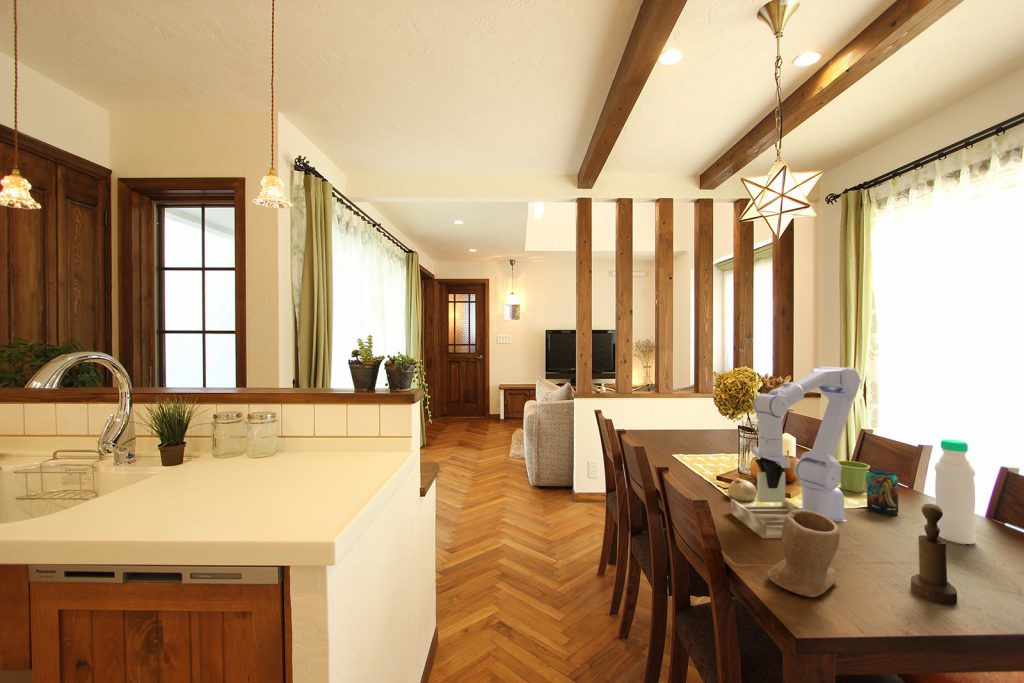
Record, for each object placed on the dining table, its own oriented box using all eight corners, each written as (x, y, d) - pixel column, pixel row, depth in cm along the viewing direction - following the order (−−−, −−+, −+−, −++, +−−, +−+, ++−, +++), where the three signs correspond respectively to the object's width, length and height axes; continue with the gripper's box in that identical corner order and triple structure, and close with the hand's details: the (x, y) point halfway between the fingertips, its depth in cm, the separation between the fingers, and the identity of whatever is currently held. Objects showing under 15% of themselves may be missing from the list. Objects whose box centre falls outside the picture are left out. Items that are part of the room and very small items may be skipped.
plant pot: (845, 493, 141) (844, 467, 141) (829, 484, 151) (828, 459, 151) (877, 495, 140) (876, 468, 140) (858, 485, 149) (858, 460, 149)
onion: (734, 494, 142) (734, 472, 142) (760, 500, 136) (760, 478, 136) (724, 500, 137) (724, 477, 137) (751, 506, 131) (751, 483, 131)
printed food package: (878, 515, 123) (877, 474, 123) (861, 506, 130) (860, 467, 130) (904, 516, 122) (904, 474, 122) (886, 507, 129) (886, 467, 129)
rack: (730, 515, 125) (730, 499, 125) (784, 514, 124) (784, 499, 124) (762, 540, 109) (762, 522, 109) (824, 539, 108) (823, 521, 108)
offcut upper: (751, 517, 119) (751, 513, 119) (789, 518, 118) (789, 514, 118) (758, 523, 115) (758, 519, 115) (797, 524, 114) (797, 520, 114)
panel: (757, 500, 118) (757, 471, 119) (782, 500, 118) (782, 471, 118) (759, 502, 117) (759, 473, 117) (785, 502, 117) (785, 473, 117)
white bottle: (966, 536, 110) (965, 439, 110) (982, 548, 103) (980, 445, 104) (930, 531, 113) (929, 436, 113) (943, 542, 106) (942, 442, 107)
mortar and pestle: (901, 586, 87) (900, 499, 88) (930, 585, 88) (929, 497, 88) (936, 606, 81) (935, 511, 81) (967, 604, 81) (965, 510, 82)
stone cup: (825, 612, 79) (824, 532, 80) (759, 583, 89) (758, 511, 89) (857, 586, 88) (856, 513, 88) (793, 562, 98) (792, 496, 98)
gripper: (742, 432, 125) (742, 478, 125) (771, 443, 111) (771, 496, 111) (766, 432, 125) (766, 478, 125) (798, 443, 111) (799, 496, 110)
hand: (770, 486), depth 118 cm, fingers closed on panel, 1 cm apart
